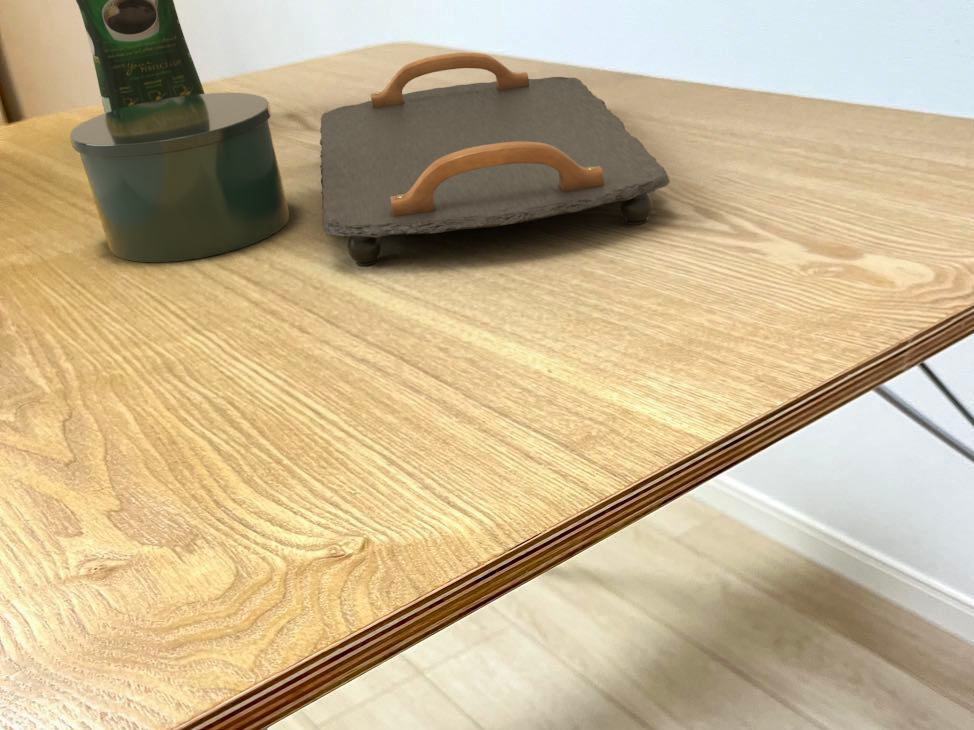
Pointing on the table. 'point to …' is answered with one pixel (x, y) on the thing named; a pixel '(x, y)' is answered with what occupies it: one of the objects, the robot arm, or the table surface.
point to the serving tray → (475, 156)
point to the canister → (184, 176)
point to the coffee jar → (138, 51)
